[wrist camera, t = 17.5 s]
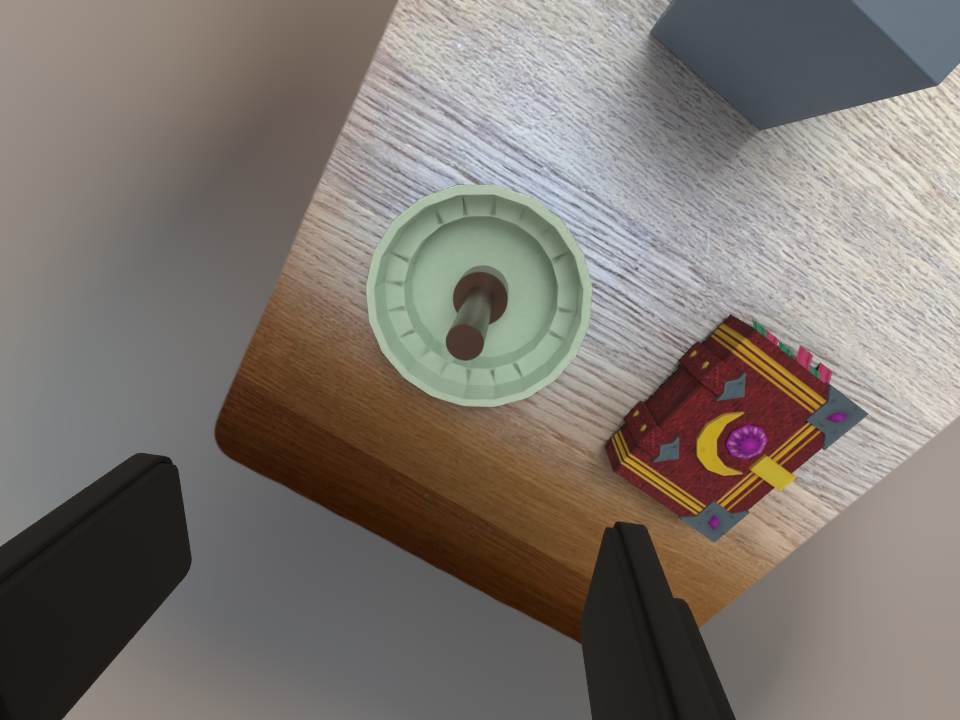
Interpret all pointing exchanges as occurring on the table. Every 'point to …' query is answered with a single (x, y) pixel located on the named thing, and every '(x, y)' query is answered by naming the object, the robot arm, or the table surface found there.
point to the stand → (812, 51)
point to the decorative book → (730, 427)
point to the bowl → (438, 268)
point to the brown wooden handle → (476, 310)
